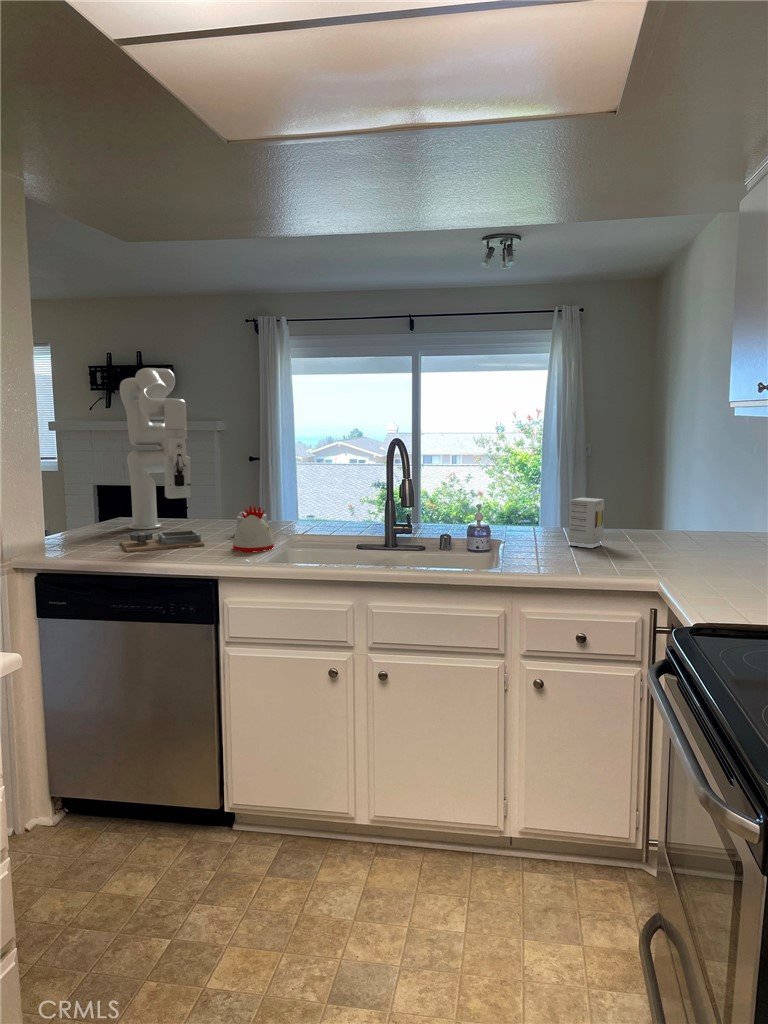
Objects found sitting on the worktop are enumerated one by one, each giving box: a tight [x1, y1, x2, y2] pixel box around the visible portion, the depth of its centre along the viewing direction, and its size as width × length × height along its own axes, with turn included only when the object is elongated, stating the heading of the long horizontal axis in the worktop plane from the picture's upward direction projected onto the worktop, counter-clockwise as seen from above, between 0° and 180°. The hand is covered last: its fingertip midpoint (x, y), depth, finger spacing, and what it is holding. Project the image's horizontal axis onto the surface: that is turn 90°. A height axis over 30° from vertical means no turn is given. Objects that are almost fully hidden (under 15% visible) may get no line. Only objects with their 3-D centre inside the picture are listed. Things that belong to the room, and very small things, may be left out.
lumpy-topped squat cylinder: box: [236, 510, 268, 529], centre depth 277 cm, size 10×13×9 cm
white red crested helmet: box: [232, 505, 275, 553], centre depth 248 cm, size 14×14×15 cm
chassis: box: [120, 530, 205, 553], centre depth 255 cm, size 18×26×4 cm
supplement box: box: [568, 497, 605, 544], centre depth 254 cm, size 10×9×17 cm
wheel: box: [129, 531, 153, 541], centre depth 252 cm, size 7×7×2 cm
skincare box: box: [164, 455, 192, 500], centre depth 255 cm, size 8×6×15 cm
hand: (177, 484), depth 255 cm, fingers closed on skincare box, 6 cm apart
